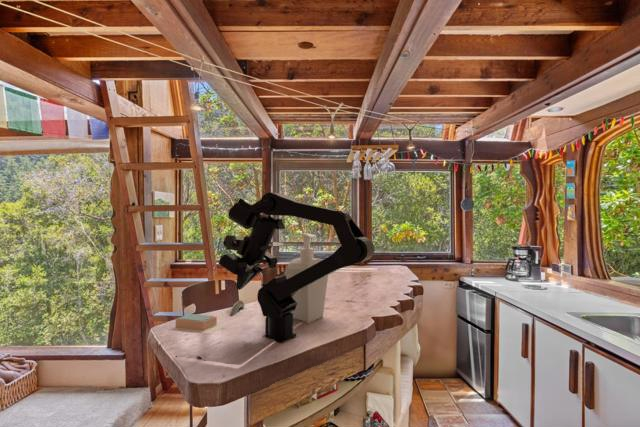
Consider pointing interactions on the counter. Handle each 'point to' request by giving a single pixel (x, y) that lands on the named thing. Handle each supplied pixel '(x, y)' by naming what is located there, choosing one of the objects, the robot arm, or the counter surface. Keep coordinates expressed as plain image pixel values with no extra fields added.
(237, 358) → the counter surface
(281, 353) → the counter surface
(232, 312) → the ceramic fragment
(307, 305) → the soap bottle
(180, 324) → the block
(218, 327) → the mat
